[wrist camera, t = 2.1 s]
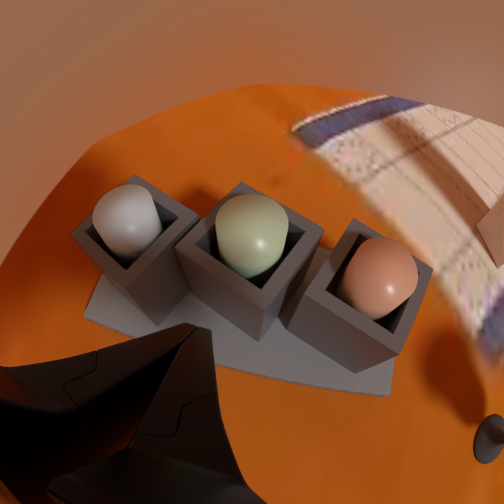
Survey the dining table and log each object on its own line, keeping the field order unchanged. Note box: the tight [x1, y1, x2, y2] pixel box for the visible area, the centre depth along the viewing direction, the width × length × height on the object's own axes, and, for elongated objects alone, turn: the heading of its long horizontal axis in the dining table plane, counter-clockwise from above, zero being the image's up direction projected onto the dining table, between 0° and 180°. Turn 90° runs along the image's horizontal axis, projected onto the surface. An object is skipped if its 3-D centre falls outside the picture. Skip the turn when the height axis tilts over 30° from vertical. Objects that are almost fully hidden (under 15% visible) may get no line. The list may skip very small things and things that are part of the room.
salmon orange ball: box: [333, 237, 418, 323], centre depth 16 cm, size 4×4×4 cm
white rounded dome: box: [92, 184, 164, 269], centre depth 17 cm, size 4×4×4 cm
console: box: [70, 175, 433, 397], centre depth 20 cm, size 11×24×8 cm, turn 76°
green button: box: [215, 194, 288, 287], centre depth 17 cm, size 4×4×4 cm
